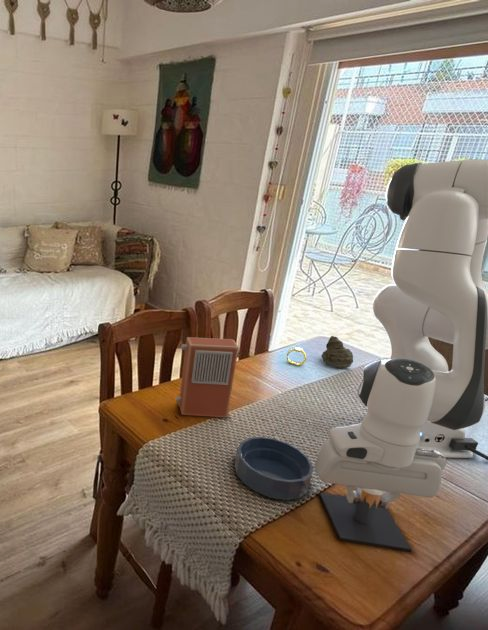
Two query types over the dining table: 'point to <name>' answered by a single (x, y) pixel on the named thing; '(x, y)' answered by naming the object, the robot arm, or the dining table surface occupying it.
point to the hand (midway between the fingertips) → (366, 503)
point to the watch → (296, 351)
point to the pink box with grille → (207, 376)
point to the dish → (273, 468)
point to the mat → (363, 525)
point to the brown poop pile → (337, 354)
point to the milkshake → (366, 504)
